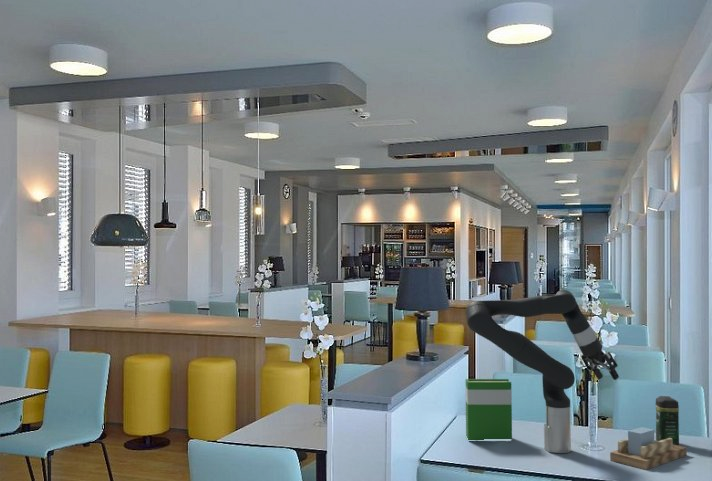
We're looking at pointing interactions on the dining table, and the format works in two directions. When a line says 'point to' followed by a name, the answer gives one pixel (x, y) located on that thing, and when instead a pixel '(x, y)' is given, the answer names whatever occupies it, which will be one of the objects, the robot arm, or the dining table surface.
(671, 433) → the coffee jar
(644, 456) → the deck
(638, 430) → the block
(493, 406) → the hardback book
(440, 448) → the dining table surface
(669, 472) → the dining table surface
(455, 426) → the dining table surface
